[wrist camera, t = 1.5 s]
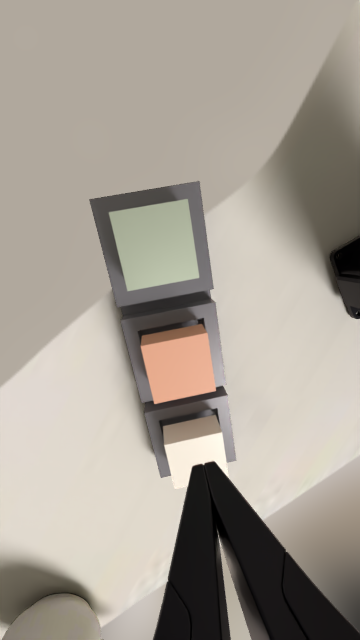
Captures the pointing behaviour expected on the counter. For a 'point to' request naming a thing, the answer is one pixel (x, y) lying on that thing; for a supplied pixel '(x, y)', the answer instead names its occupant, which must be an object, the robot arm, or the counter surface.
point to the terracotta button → (178, 363)
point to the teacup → (56, 620)
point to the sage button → (155, 244)
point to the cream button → (193, 447)
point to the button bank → (167, 316)
